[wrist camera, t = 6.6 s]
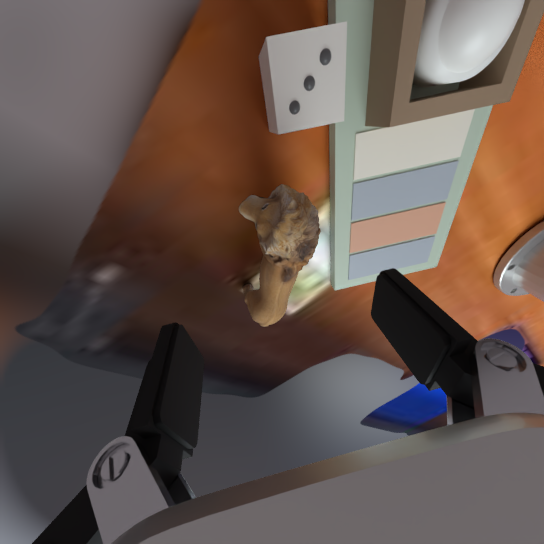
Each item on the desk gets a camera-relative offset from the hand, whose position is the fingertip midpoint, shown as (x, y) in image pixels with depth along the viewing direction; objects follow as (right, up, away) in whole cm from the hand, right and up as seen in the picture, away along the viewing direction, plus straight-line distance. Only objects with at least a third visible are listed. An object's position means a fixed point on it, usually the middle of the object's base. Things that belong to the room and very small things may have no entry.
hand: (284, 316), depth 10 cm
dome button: (+9, +16, +2) cm, 19 cm away
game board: (+10, +12, +8) cm, 17 cm away
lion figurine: (-1, +5, +11) cm, 12 cm away
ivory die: (+1, +15, +4) cm, 15 cm away
